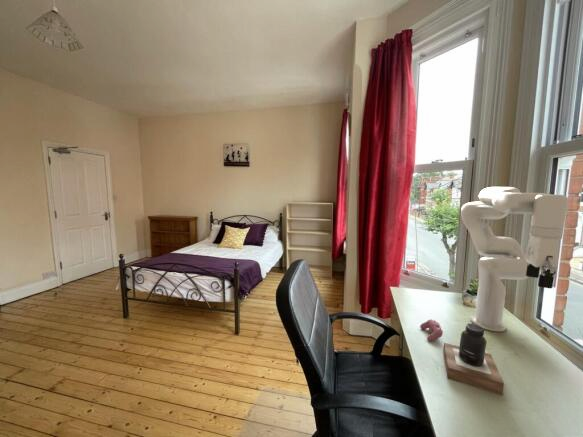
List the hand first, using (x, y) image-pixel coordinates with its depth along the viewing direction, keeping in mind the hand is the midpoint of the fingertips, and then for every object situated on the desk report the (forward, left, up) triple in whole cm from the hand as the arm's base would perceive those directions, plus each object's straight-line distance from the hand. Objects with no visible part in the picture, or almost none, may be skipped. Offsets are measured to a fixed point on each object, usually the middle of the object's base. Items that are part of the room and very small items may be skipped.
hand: (538, 281), depth 82 cm
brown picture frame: (+14, -19, -30) cm, 38 cm away
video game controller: (-3, -29, -31) cm, 42 cm away
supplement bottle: (+14, -19, -26) cm, 35 cm away
